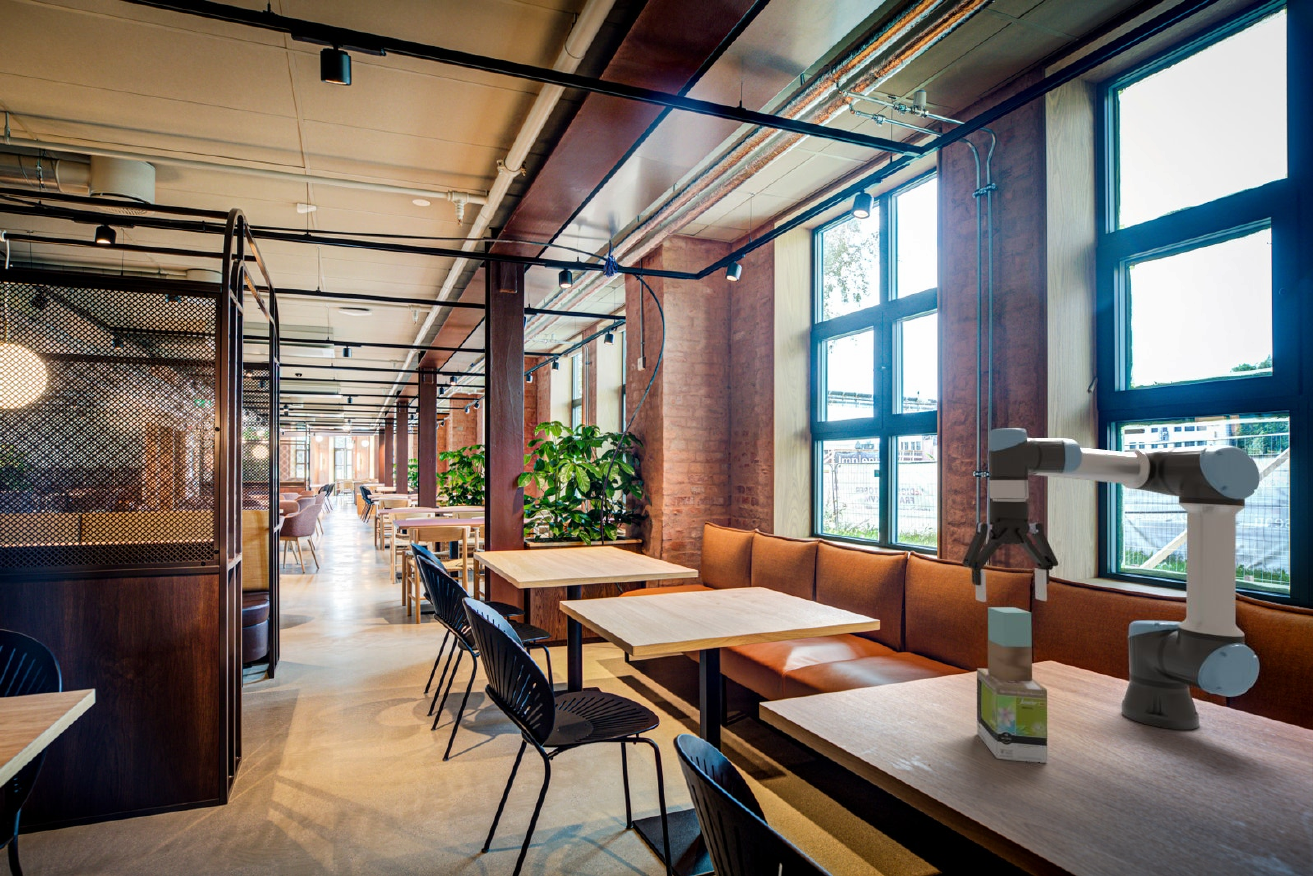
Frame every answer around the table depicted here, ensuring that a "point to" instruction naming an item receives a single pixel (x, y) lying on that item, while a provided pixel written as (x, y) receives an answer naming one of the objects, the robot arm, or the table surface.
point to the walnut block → (1010, 662)
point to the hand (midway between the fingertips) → (1011, 600)
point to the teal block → (1009, 627)
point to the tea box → (1012, 717)
